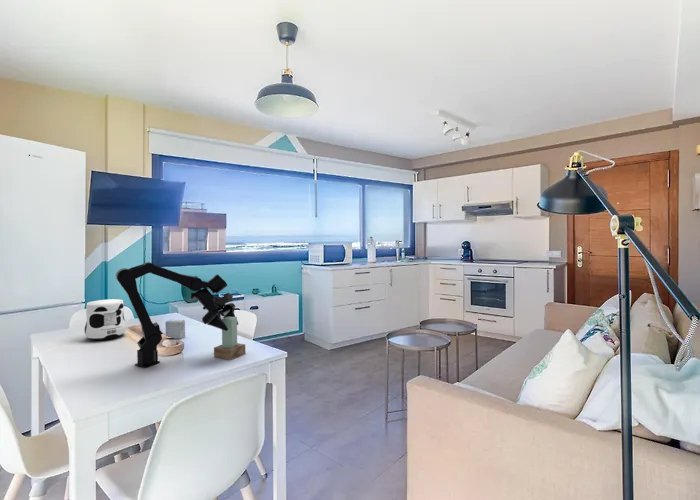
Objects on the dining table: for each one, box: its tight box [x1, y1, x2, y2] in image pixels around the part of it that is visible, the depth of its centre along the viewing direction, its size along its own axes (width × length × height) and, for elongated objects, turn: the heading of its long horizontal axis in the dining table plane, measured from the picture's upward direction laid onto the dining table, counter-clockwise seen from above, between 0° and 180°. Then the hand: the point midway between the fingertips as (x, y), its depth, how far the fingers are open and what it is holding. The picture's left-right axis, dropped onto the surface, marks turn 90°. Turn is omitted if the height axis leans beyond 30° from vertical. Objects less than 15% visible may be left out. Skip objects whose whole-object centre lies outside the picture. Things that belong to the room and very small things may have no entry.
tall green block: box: [221, 316, 238, 348], centre depth 157 cm, size 4×4×12 cm
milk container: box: [84, 298, 127, 341], centre depth 185 cm, size 17×17×18 cm
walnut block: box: [213, 342, 246, 361], centre depth 157 cm, size 9×9×4 cm
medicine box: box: [164, 319, 186, 340], centre depth 184 cm, size 8×4×9 cm, turn 84°
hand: (232, 327), depth 157 cm, fingers open, 9 cm apart
